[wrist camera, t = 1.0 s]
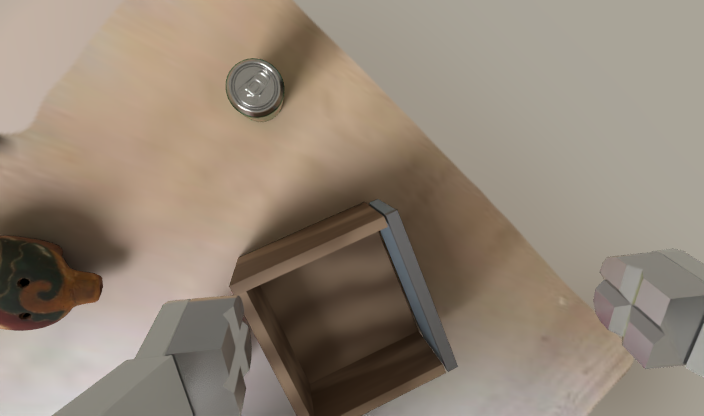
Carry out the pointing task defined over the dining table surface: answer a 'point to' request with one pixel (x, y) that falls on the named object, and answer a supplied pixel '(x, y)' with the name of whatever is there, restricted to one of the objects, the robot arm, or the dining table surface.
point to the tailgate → (414, 284)
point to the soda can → (255, 89)
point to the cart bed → (334, 317)
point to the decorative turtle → (40, 284)
